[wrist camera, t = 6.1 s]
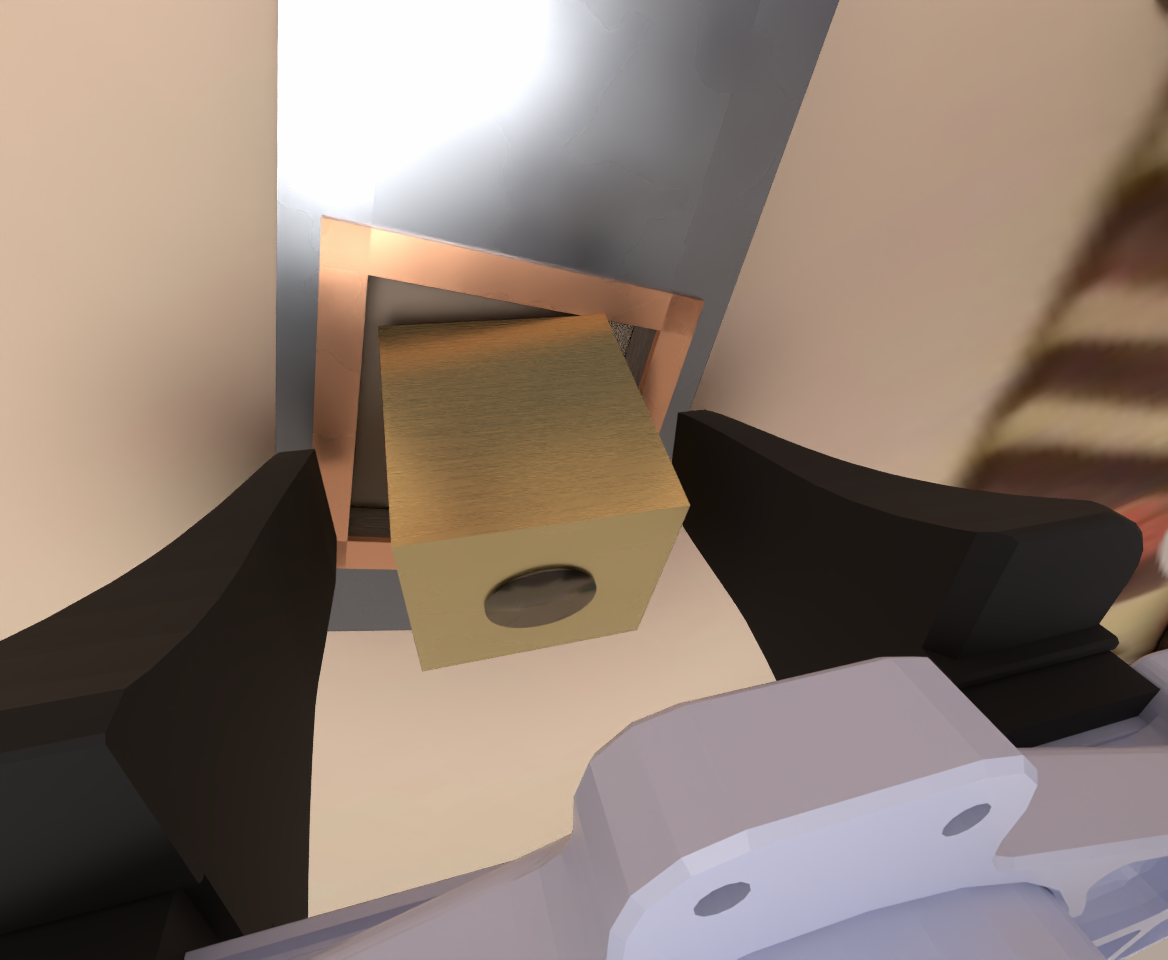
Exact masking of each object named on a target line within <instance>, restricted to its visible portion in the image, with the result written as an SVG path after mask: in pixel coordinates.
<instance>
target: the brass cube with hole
mask: <svg viewBox="0 0 1168 960" xmlns="http://www.w3.org/2000/svg"><path fill="white" fill-rule="evenodd" d="M378 330H379V347H380V364H381V381H382V397H383V414H384V431H385V448H386V465H387V482H388V498H389V515H390V532H391V548H392V552H393V556H394V560H395V564H396V568H397V572H398V576H399V580H400V584H401V588H402V592H403V596H404V600H405V604H406V608H407V612H408V616H409V620H410V624H411V628H412V632H413V636H414V640H415V644H416V648H417V652H418V656H419V660H420V664H421V668H422V671H426V670H432V669H437V668H442V667H447V666H452V665H458V664H463V663H468V662H473V661H478V660H484V659H489V658H494V657H499V656H504V655H510V654H515V653H520V652H525V651H530V650H536V649H541V648H546V647H551V646H556V645H562V644H567V643H572V642H577V641H582V640H588V639H593V638H598V637H603V636H608V635H614V634H619V633H624V632H629V631H635V630H637V629H638V626H639V624H640V622H641V619H642V617H643V615H644V612H645V610H646V608H647V605H648V603H649V601H650V598H651V596H652V594H653V591H654V589H655V587H656V584H657V582H658V580H659V577H660V575H661V573H662V570H663V568H664V566H665V563H666V561H667V559H668V556H669V554H670V552H671V549H672V547H673V544H674V542H675V540H676V537H677V535H678V533H679V530H680V528H681V526H682V523H683V521H684V519H685V516H686V514H687V512H688V509H689V507H690V504H689V501H688V499H687V497H686V495H685V492H684V490H683V488H682V486H681V483H680V481H679V479H678V477H677V474H676V472H675V470H674V468H673V465H672V463H671V461H670V459H669V456H668V454H667V452H666V450H665V447H664V445H663V443H662V441H661V438H660V436H659V434H658V432H657V429H656V427H655V425H654V423H653V420H652V418H651V416H650V414H649V411H648V409H647V407H646V405H645V402H644V400H643V398H642V396H641V394H640V391H639V389H638V387H637V385H636V382H635V380H634V378H633V376H632V373H631V371H630V369H629V367H628V364H627V362H626V360H625V358H624V355H623V353H622V351H621V349H620V346H619V344H618V342H617V340H616V337H615V335H614V333H613V331H612V328H611V326H610V324H609V322H608V319H607V317H606V315H589V316H569V317H550V318H531V319H511V320H492V321H473V322H453V323H434V324H414V325H395V326H378Z"/></svg>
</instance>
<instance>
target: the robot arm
mask: <svg viewBox="0 0 1168 960" xmlns="http://www.w3.org/2000/svg"><path fill="white" fill-rule="evenodd" d="M672 465H673V468H674V470H675V472H676V474H677V477H678V479H679V481H680V483H681V486H682V488H683V490H684V492H685V495H686V497H687V499H688V501H689V504H690V507H689V509H688V512H687V514H686V516H685V519H684V521H683V523H682V525H683V527H684V529H685V530H686V532H687V533H688V535H689V536H690V538H691V539H692V541H693V542H694V544H695V545H696V547H697V548H698V550H699V551H700V553H701V554H702V556H703V557H704V559H705V560H706V562H707V563H708V565H709V566H710V568H711V569H712V570H713V572H714V573H715V575H716V576H717V578H718V579H719V581H720V582H721V584H722V585H723V586H724V588H725V589H726V591H727V592H728V594H729V595H730V597H731V598H732V600H733V601H734V603H735V604H736V606H737V607H738V609H739V610H740V612H741V614H742V615H743V617H744V619H745V620H746V622H747V624H748V626H749V628H750V630H751V631H752V633H753V635H754V637H755V639H756V641H757V643H758V645H759V647H760V649H761V650H762V652H763V654H764V656H765V658H766V660H767V662H768V664H769V666H770V668H771V670H772V672H773V674H774V676H775V679H776V681H774V682H770V683H766V684H761V685H757V686H753V687H748V688H744V689H740V690H735V691H731V692H727V693H722V694H718V695H714V696H709V697H705V698H701V699H696V700H692V701H688V702H683V703H679V704H677V705H674V706H672V707H669V708H667V709H664V710H662V711H659V712H657V713H654V714H652V715H649V716H647V717H644V718H642V719H639V720H637V721H635V722H632V723H631V724H629V725H628V726H627V727H626V728H625V729H623V730H622V731H621V732H620V733H619V734H617V735H616V736H615V737H614V738H613V739H611V740H610V741H609V742H608V743H607V744H605V745H604V746H603V747H602V748H601V749H599V750H598V751H597V752H596V753H595V754H594V756H593V757H592V759H591V760H590V762H589V764H588V766H587V768H586V771H585V773H584V775H583V777H582V780H581V782H580V784H579V786H578V789H577V791H576V793H575V795H574V808H573V830H572V834H569V835H567V836H565V837H563V838H561V839H559V840H557V841H554V842H552V843H550V844H548V845H546V846H544V847H542V848H540V849H537V850H535V851H533V852H531V853H529V854H527V855H525V856H523V857H521V858H518V859H516V860H513V861H510V862H506V863H502V864H499V865H495V866H492V867H488V868H485V869H481V870H478V871H474V872H470V873H467V874H463V875H460V876H456V877H453V878H449V879H445V880H442V881H438V882H435V883H431V884H428V885H424V886H420V887H417V888H413V889H410V890H406V891H403V892H399V893H395V894H392V895H388V896H385V897H381V898H378V899H374V900H371V901H367V902H363V903H360V904H356V905H353V906H349V907H346V908H342V909H338V910H335V911H331V912H328V913H324V914H321V915H317V916H313V917H310V918H308V869H309V828H310V798H311V774H312V753H313V735H314V718H315V704H316V696H317V688H318V681H319V676H320V670H321V664H322V659H323V653H324V648H325V642H326V636H327V631H328V625H329V620H330V614H331V608H332V602H333V596H334V590H335V584H336V564H337V536H336V532H335V528H334V524H333V520H332V516H331V512H330V508H329V504H328V500H327V496H326V491H325V487H324V483H323V479H322V475H321V471H320V467H319V463H318V459H317V455H316V451H315V449H307V450H297V451H287V452H279V453H277V454H276V455H275V456H273V457H272V458H271V459H270V460H269V461H267V462H266V463H265V464H264V465H263V466H262V467H261V468H260V469H259V470H257V471H256V472H255V473H254V474H253V475H252V476H251V477H250V478H249V479H248V480H246V481H245V482H244V483H243V484H242V485H241V486H240V487H239V488H238V489H236V490H235V491H234V492H233V493H232V494H231V495H230V496H228V497H227V498H226V499H225V500H224V501H223V502H222V503H221V504H219V505H218V506H217V507H216V508H215V509H213V510H212V511H211V512H210V513H208V514H207V515H206V516H205V517H203V518H202V519H201V520H200V521H198V522H197V523H196V524H195V525H193V526H192V527H191V528H190V529H188V530H187V531H186V532H185V533H183V534H182V535H181V536H180V537H178V538H177V539H176V540H174V541H173V542H172V543H170V544H169V545H167V546H166V547H165V548H163V549H162V550H160V551H159V552H157V553H156V554H155V555H153V556H152V557H150V558H149V559H147V560H146V561H144V562H143V563H141V564H140V565H138V566H136V567H135V568H133V569H132V570H130V571H129V572H127V573H126V574H124V575H123V576H121V577H119V578H118V579H116V580H114V581H113V582H111V583H109V584H108V585H106V586H104V587H102V588H100V589H99V590H97V591H95V592H93V593H91V594H90V595H88V596H86V597H84V598H82V599H81V600H79V601H77V602H75V603H73V604H72V605H70V606H68V607H66V608H64V609H63V610H61V611H59V612H57V613H55V614H54V615H52V616H50V617H48V618H46V619H44V620H42V621H40V622H38V623H36V624H34V625H32V626H30V627H28V628H26V629H24V630H22V631H20V632H18V633H16V634H14V635H12V636H10V637H8V638H6V639H4V640H2V641H0V960H1124V959H1126V958H1128V957H1130V956H1132V955H1134V954H1136V953H1138V952H1140V951H1142V950H1144V949H1146V948H1148V947H1150V946H1152V945H1154V944H1156V943H1158V942H1160V941H1162V940H1164V939H1166V938H1168V649H1165V650H1161V651H1158V652H1154V653H1150V654H1148V655H1146V656H1143V657H1141V658H1140V659H1138V660H1137V661H1135V662H1134V663H1132V664H1131V665H1130V666H1129V665H1128V664H1127V663H1125V662H1124V661H1123V660H1121V659H1120V658H1119V657H1117V656H1116V655H1115V654H1113V653H1112V652H1111V651H1109V650H1113V649H1115V648H1116V647H1117V645H1118V644H1119V641H1118V638H1117V637H1116V636H1115V635H1114V634H1112V633H1111V632H1110V631H1108V630H1107V629H1105V628H1104V627H1103V626H1101V625H1100V624H1099V623H1100V622H1101V620H1102V619H1103V617H1104V616H1105V615H1106V613H1107V612H1108V610H1109V609H1110V607H1111V606H1112V604H1113V603H1114V602H1115V600H1116V599H1117V597H1118V596H1119V594H1120V593H1121V591H1122V590H1123V589H1124V587H1125V586H1126V584H1127V583H1128V581H1129V580H1130V578H1131V576H1132V575H1133V573H1134V571H1135V570H1136V568H1137V566H1138V564H1139V561H1140V558H1141V555H1142V552H1143V537H1142V532H1141V530H1140V529H1139V527H1138V526H1137V524H1136V523H1135V522H1133V521H1131V520H1129V519H1127V518H1126V517H1124V516H1122V515H1120V514H1119V513H1117V512H1115V511H1113V510H1111V509H1110V508H1108V507H1106V506H1104V505H1101V504H1098V503H1095V502H1092V501H1085V500H1072V499H1059V498H1046V497H1032V496H1019V495H1010V494H1002V493H994V492H986V491H979V490H971V489H965V488H959V487H952V486H946V485H941V484H936V483H931V482H926V481H921V480H916V479H911V478H906V477H902V476H897V475H893V474H889V473H885V472H881V471H877V470H874V469H870V468H867V467H863V466H859V465H856V464H852V463H849V462H846V461H843V460H839V459H836V458H833V457H830V456H828V455H825V454H822V453H819V452H816V451H813V450H811V449H808V448H805V447H802V446H800V445H797V444H794V443H792V442H789V441H787V440H784V439H782V438H779V437H777V436H774V435H772V434H769V433H767V432H764V431H762V430H760V429H757V428H755V427H752V426H750V425H747V424H745V423H742V422H740V421H737V420H735V419H732V418H729V417H727V416H724V415H721V414H718V413H715V412H711V411H707V410H697V411H687V412H678V415H677V423H676V431H675V439H674V447H673V455H672Z"/></svg>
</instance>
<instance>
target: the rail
mask: <svg viewBox="0 0 1168 960" xmlns="http://www.w3.org/2000/svg"><path fill="white" fill-rule="evenodd" d="M838 2H839V0H278V136H277V300H276V454H277V453H279V452H287V451H297V450H307V449H315V451H316V455H317V459H318V463H319V467H320V471H321V475H322V479H323V483H324V487H325V491H326V496H327V500H328V504H329V508H330V512H331V516H332V520H333V524H334V528H335V532H336V536H337V564H336V584H335V590H334V596H333V602H332V608H331V614H330V620H329V625H328V631H381V630H412V628H411V624H410V620H409V616H408V612H407V608H406V604H405V600H404V596H403V592H402V588H401V584H400V580H399V576H398V572H397V568H396V564H395V560H394V556H393V552H392V548H391V532H390V515H389V509H376V508H358V507H351V495H352V482H353V469H354V456H355V443H356V431H357V418H358V405H359V392H360V379H361V366H362V353H363V340H364V328H365V315H366V302H367V289H368V276H369V275H371V276H377V277H382V278H387V279H392V280H398V281H403V282H408V283H413V284H419V285H424V286H429V287H434V288H440V289H445V290H450V291H455V292H461V293H466V294H471V295H476V296H482V297H487V298H492V299H497V300H503V301H508V302H513V303H518V304H523V305H529V306H534V307H539V308H544V309H550V310H555V311H560V312H565V313H571V314H576V315H581V316H589V315H606V317H607V319H608V321H613V322H618V323H623V324H628V325H634V330H633V333H632V336H631V340H630V343H629V346H628V350H627V353H626V356H625V360H626V362H627V364H628V367H629V369H630V371H631V373H632V376H633V378H634V380H635V382H636V385H637V387H638V389H639V391H640V394H641V396H642V398H643V400H644V402H645V405H646V407H647V409H648V411H649V414H650V416H651V418H652V420H653V423H654V425H655V427H656V429H657V432H658V434H659V436H660V438H661V441H662V443H663V445H664V447H665V450H666V452H667V454H668V456H669V459H670V461H671V459H672V455H673V447H674V439H675V431H676V423H677V415H678V412H687V411H689V409H690V407H691V404H692V401H693V399H694V396H695V393H696V390H697V388H698V385H699V382H700V379H701V377H702V374H703V371H704V368H705V366H706V363H707V360H708V358H709V355H710V352H711V349H712V347H713V344H714V341H715V338H716V336H717V333H718V330H719V327H720V325H721V322H722V319H723V317H724V314H725V311H726V308H727V306H728V303H729V300H730V297H731V295H732V292H733V289H734V286H735V284H736V281H737V278H738V276H739V273H740V270H741V267H742V265H743V262H744V259H745V256H746V254H747V251H748V248H749V245H750V243H751V240H752V237H753V235H754V232H755V229H756V226H757V224H758V221H759V218H760V215H761V213H762V210H763V207H764V204H765V202H766V199H767V196H768V194H769V191H770V188H771V185H772V183H773V180H774V177H775V174H776V172H777V169H778V166H779V163H780V161H781V158H782V155H783V153H784V150H785V147H786V144H787V142H788V139H789V136H790V133H791V131H792V128H793V125H794V122H795V120H796V117H797V114H798V112H799V109H800V106H801V103H802V101H803V98H804V95H805V92H806V90H807V87H808V84H809V81H810V79H811V76H812V73H813V71H814V68H815V65H816V62H817V60H818V57H819V54H820V51H821V49H822V46H823V43H824V40H825V38H826V35H827V32H828V30H829V27H830V24H831V21H832V19H833V16H834V13H835V10H836V8H837V5H838Z"/></svg>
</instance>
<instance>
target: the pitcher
mask: <svg viewBox="0 0 1168 960" xmlns="http://www.w3.org/2000/svg"><path fill="white" fill-rule="evenodd" d="M1165 649H1168V629H1167V631H1166V632H1165V634H1164V635H1163V637H1162V639H1161V641H1160V643H1159V646H1158V649H1157V651H1156V652H1158V651H1161V650H1165Z"/></svg>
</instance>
